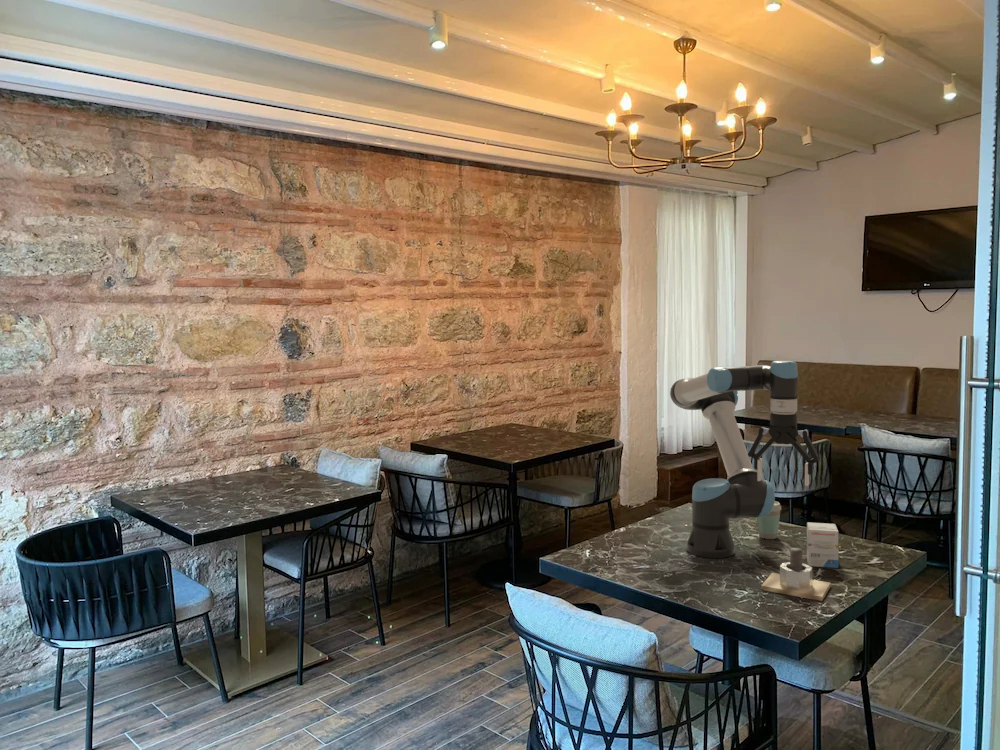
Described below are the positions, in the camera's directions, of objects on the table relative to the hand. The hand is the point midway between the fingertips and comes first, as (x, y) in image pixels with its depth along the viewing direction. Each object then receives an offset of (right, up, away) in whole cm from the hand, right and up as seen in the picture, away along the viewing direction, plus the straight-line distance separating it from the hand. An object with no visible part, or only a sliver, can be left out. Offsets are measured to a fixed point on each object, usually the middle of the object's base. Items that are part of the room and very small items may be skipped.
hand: (783, 482), depth 221 cm
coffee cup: (+8, -24, +35) cm, 43 cm away
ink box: (+15, -26, +7) cm, 31 cm away
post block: (-1, -28, -13) cm, 31 cm away
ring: (-1, -27, -13) cm, 30 cm away
